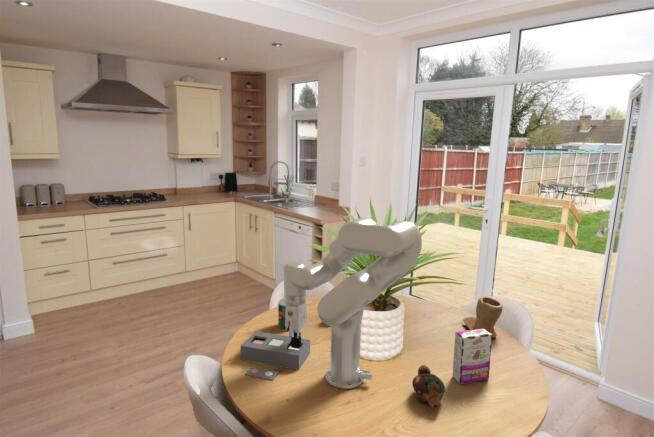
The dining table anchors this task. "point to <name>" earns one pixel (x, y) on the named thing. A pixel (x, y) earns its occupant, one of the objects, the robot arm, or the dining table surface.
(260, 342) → the terracotta key
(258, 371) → the card
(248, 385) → the dining table surface
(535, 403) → the dining table surface
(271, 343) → the sage key
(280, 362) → the keypad housing
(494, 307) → the tan boot
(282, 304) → the canned tomato
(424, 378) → the decorative turtle
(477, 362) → the candy bar box
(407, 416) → the dining table surface
